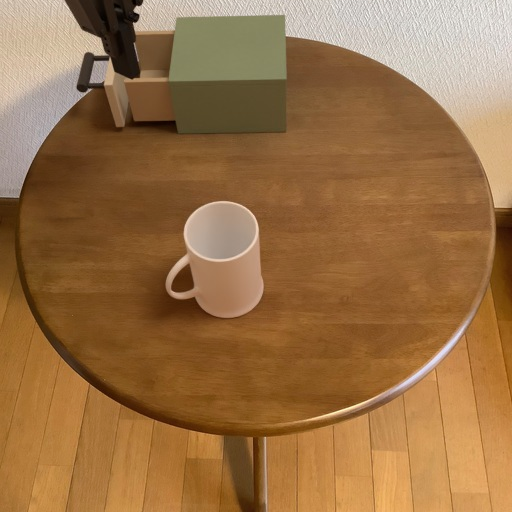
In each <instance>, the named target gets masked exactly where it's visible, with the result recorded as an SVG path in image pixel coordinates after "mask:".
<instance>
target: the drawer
mask: <svg viewBox="0 0 512 512" xmlns="http://www.w3.org/2000/svg"><path fill="white" fill-rule="evenodd" d="M174 33H175V29H174V30H173V29H172V30H170V29H169V30H135V34H136V42H135V43H134V46H135V50H136V55H137V59H138V64H139V68H140V72H141V73H139V77H135V78H134V79H133V80H131V79H129V78H127V77H125V76H123V75H120V74H118V73H116V72H114V69H113V65H112V61H111V58H110V56H109V55H107V54H105V55H102V54H101V55H96V54H94V53H93V52H91V51H87V52H85V53H84V54H83V58H82V61H81V66H80V70H79V74H78V78H77V82H76V86H75V87H76V90H77V91H78V92H80V93H82V94H83V93H84V94H85V93H87V92H88V91H89V90H103V89H104V90H105V94H106V97H107V101H108V103H109V108H110V111H111V114H112V118H113V121H114V124H115V127H116V128H124V127H125V125H126V119H127V113H128V109H129V108H128V107H130V111H131V115H132V119H133V121H134V122H163V121H164V122H166V121H167V122H169V121H170V122H171V121H173V122H174V121H176V120H175V115H174V109H173V104H172V99H171V93H170V88H169V82H168V80H169V72H170V64H171V56H172V48H173V41H174ZM95 62H107V63H108V64H107V69H106V72H105V73H106V74H105V78H104V82H90V81H91V77H92V73H93V69H94V65H95Z"/></svg>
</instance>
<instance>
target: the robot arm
mask: <svg viewBox="0 0 512 512" xmlns="http://www.w3.org/2000/svg"><path fill="white" fill-rule="evenodd" d="M64 2H65V4H66V6H67V7H68V9H69V11H70V12H71V14H72V16H73V17H74V20H75V21H76V23H77V24H78V27H79V28H80V30H81V31H84V32H85V33H87V34H91V35H92V36H94V37H97V38H99V39H100V41H101V44H102V49H103V51H104V53H105V55H109V56H110V58H111V61H112V65H113V69H114V72H116V73H118V74H120V75H123V76H125V77H127V78H129V79H131V80H133V79H134V78H137V76H138V75H140V73H141V69H140V64H139V60H138V56H137V51H136V47H135V42H136V34H135V31H136V30H135V26H134V25H135V24H136V23H138V22H139V20H140V17H141V16H140V13H138V12H136V11H135V9H136V7H142V5H143V4H144V0H64Z"/></svg>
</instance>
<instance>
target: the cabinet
mask: <svg viewBox="0 0 512 512" xmlns="http://www.w3.org/2000/svg"><path fill="white" fill-rule="evenodd" d="M174 30H175V33H174V41H173V48H172V56H171V64H170V72H169V80H168V82H169V88H170V93H171V99H172V104H173V109H174V115H175V120H174V121H175V125H176V130H177V134H178V135H181V134H182V135H184V134H185V135H187V134H190V135H191V134H238V133H239V134H241V133H243V134H244V133H245V134H246V133H247V134H249V133H250V134H251V133H286V132H287V105H288V104H287V101H288V100H287V99H288V98H287V96H288V95H287V92H288V91H287V89H288V87H287V85H288V76H287V75H288V73H287V41H286V40H287V38H286V37H287V36H286V15H285V14H266V15H265V14H263V15H261V14H260V15H219V16H218V15H217V16H214V15H213V16H176V18H175V25H174Z"/></svg>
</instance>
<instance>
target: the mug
mask: <svg viewBox="0 0 512 512" xmlns="http://www.w3.org/2000/svg"><path fill="white" fill-rule="evenodd" d="M183 239H184V244H185V250H186V254H185V255H183V256H182V257H181V258H180V259H179V260H178V261H177V262H176V263H175V264H174V265H173V266H172V268H171V269H170V271H169V273H168V274H167V277H166V280H165V290H166V292H167V294H168V295H169V296H170V297H171V298H173V299H175V300H188V299H192V298H194V299H195V301H196V302H197V304H198V305H199V307H200V308H201V309H202V310H203V311H205V313H207V314H209V315H211V316H214V317H217V318H220V319H233V318H238V317H242V316H244V315H246V314H248V313H249V312H251V311H252V310H253V309H254V308H256V307H257V305H258V304H259V302H260V301H261V299H262V296H263V293H264V288H265V287H264V285H265V284H264V279H263V276H262V267H261V252H260V251H261V250H260V249H261V246H260V229H259V223H258V221H257V218H256V216H255V215H254V213H253V212H252V211H251V210H249V208H247V207H245V206H244V205H242V204H240V203H237V202H233V201H226V200H220V201H219V200H217V201H213V202H209V203H206V204H204V205H202V206H200V207H198V208H197V209H195V210H194V211H193V212H192V213H191V214H190V215H189V217H188V218H187V220H186V222H185V224H184V228H183ZM187 265H189V267H190V273H191V276H192V281H193V288H191V289H190V290H187V291H181V292H177V291H173V290H172V285H173V281H174V279H175V278H176V277H177V275H178V273H180V271H181V270H183V268H185V267H186V266H187Z"/></svg>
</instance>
